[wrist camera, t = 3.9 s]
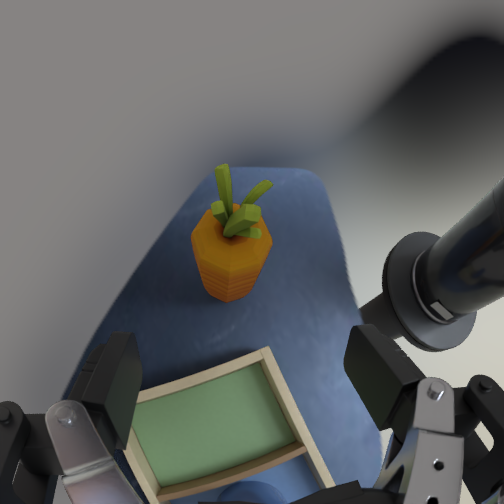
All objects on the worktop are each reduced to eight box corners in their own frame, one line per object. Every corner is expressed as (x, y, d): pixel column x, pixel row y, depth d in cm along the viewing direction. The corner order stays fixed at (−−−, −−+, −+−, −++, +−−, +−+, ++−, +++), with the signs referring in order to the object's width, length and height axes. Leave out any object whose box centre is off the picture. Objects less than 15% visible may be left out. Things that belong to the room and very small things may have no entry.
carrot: (202, 267, 27) (192, 147, 14) (254, 271, 28) (288, 156, 14) (197, 318, 25) (174, 228, 12) (252, 322, 25) (293, 238, 12)
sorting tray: (263, 350, 24) (268, 345, 21) (338, 506, 17) (352, 517, 15) (115, 400, 20) (102, 401, 18) (200, 557, 13) (199, 572, 11)
